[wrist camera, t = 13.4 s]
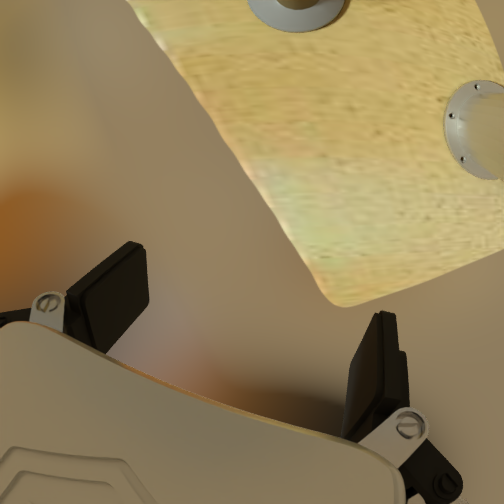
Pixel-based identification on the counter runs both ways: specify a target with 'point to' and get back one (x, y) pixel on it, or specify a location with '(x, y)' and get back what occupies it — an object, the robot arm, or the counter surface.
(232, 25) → the counter surface
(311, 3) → the cork
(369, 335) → the robot arm
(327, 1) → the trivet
